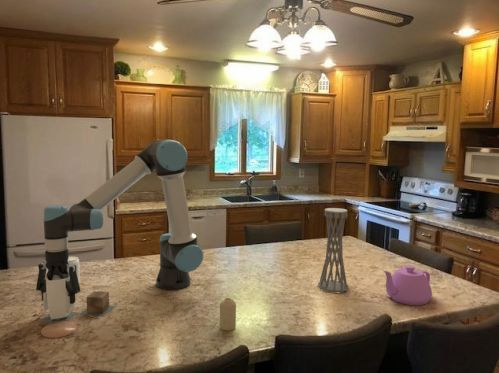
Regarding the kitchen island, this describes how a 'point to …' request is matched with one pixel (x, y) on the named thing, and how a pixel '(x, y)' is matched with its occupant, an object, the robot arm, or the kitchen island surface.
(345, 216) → the grey lattice tower
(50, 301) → the cup
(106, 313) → the code tile
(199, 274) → the kitchen island surface
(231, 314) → the candle
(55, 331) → the salmon round part
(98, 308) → the walnut block
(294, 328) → the kitchen island surface
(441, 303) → the kitchen island surface
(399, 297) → the teapot
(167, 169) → the robot arm
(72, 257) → the beverage can
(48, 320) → the code tile
